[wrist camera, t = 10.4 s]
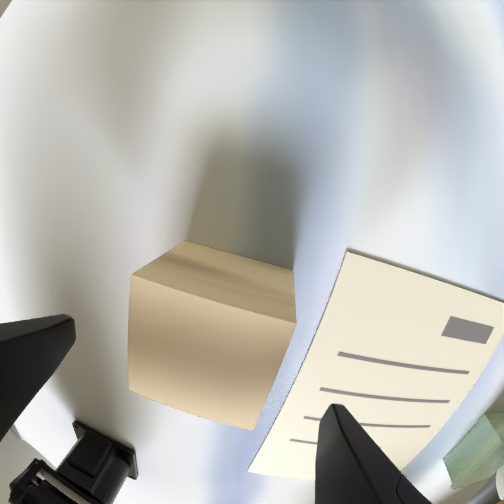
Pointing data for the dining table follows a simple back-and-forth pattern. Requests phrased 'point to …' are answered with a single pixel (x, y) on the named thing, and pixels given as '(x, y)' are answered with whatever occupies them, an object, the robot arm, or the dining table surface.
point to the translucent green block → (477, 452)
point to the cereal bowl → (500, 482)
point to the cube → (209, 332)
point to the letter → (384, 364)
